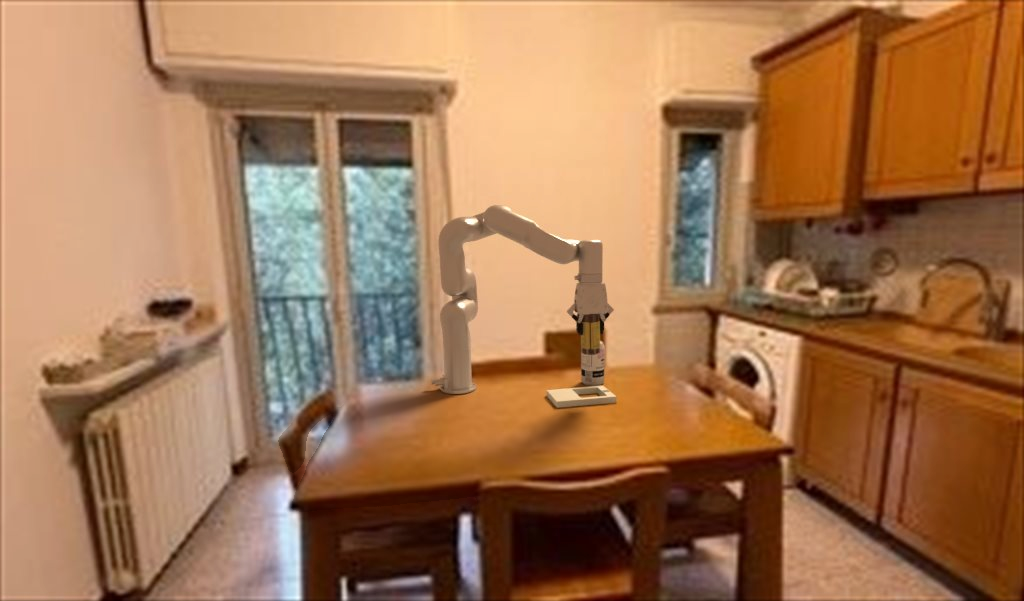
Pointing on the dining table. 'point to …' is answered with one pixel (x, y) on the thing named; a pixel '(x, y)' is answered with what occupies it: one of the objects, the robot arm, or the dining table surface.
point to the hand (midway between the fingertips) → (590, 333)
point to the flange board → (571, 397)
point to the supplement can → (593, 367)
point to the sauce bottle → (590, 334)
